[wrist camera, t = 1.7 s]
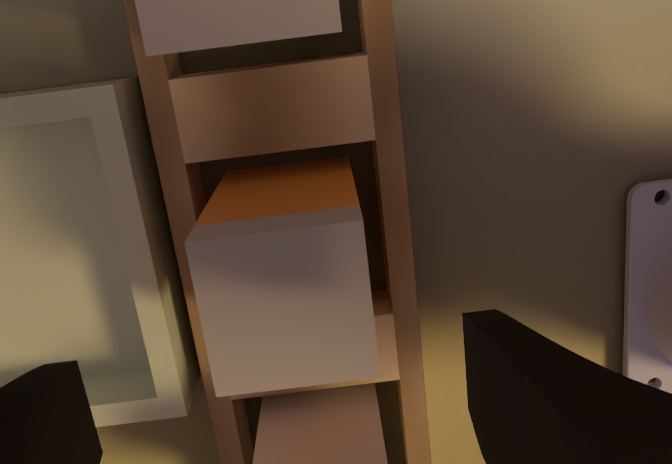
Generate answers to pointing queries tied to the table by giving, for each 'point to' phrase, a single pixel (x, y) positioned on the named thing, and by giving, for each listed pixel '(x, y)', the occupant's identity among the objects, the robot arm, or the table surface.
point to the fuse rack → (286, 135)
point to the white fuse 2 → (321, 427)
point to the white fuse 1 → (230, 22)
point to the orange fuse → (284, 279)
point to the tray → (91, 252)
